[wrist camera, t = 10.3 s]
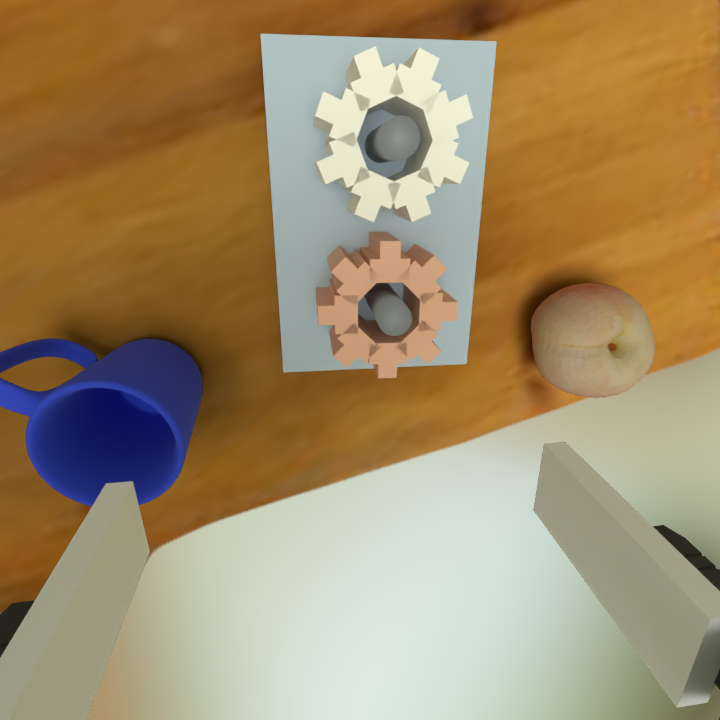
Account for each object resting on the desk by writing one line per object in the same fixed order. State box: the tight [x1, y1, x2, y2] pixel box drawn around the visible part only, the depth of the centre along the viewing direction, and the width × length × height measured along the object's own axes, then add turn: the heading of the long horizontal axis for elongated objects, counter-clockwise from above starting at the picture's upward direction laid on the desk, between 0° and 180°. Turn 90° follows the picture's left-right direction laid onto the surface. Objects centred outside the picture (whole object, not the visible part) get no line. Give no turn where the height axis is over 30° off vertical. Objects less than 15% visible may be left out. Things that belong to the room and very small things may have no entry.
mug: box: [0, 338, 203, 506], centre depth 29 cm, size 8×12×10 cm
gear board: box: [261, 34, 497, 372], centre depth 28 cm, size 14×21×8 cm, turn 0°
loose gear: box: [316, 232, 458, 379], centre depth 30 cm, size 9×9×5 cm
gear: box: [313, 46, 473, 222], centre depth 27 cm, size 9×9×5 cm
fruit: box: [531, 283, 655, 398], centre depth 33 cm, size 8×8×8 cm
